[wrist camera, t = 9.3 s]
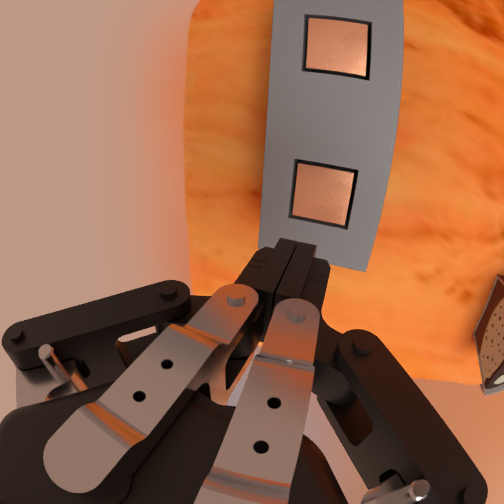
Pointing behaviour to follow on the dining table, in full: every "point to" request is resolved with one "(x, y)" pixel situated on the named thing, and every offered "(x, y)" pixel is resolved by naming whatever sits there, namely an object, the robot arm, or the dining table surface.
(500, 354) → the half cake
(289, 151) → the guide block
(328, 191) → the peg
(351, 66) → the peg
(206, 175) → the dining table surface
